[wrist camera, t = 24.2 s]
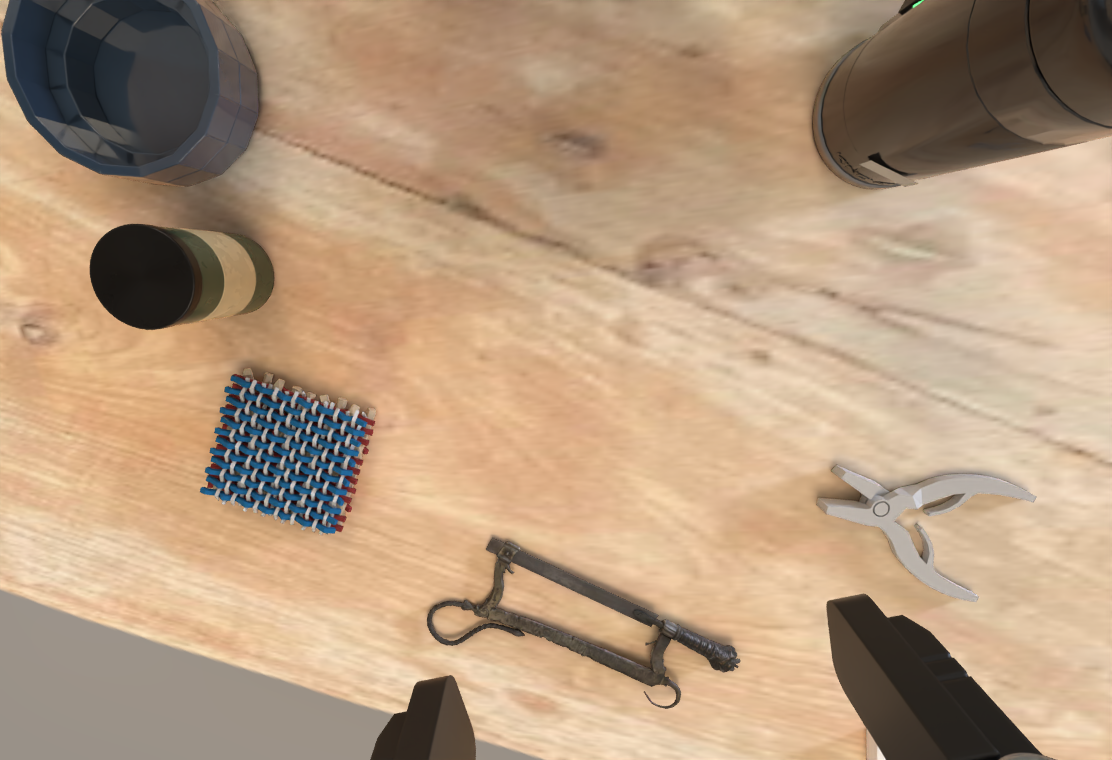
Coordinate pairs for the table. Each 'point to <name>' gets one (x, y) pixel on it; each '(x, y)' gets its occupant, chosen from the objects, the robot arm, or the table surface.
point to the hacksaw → (655, 675)
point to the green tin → (178, 275)
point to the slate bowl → (134, 85)
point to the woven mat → (288, 453)
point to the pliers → (887, 506)
